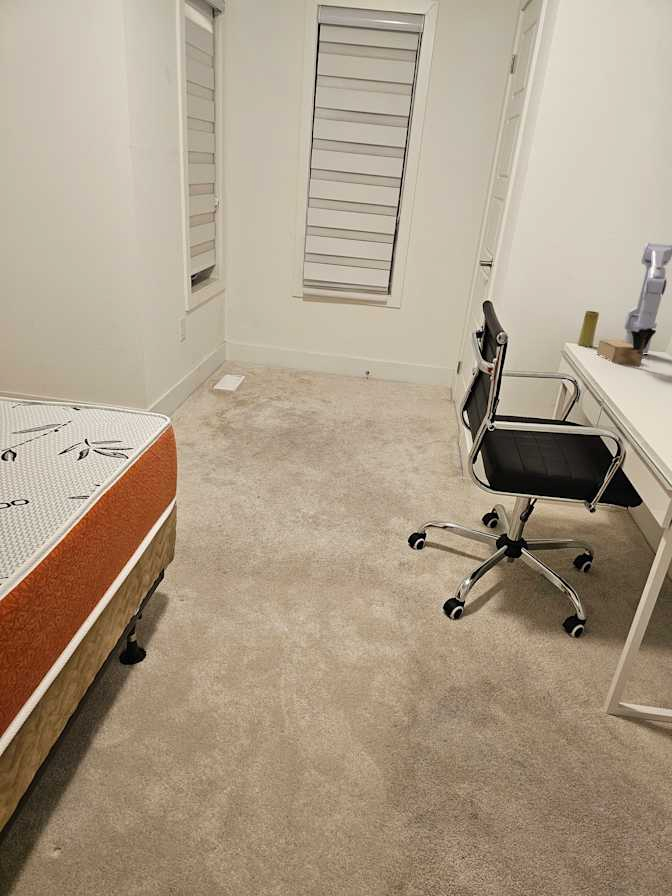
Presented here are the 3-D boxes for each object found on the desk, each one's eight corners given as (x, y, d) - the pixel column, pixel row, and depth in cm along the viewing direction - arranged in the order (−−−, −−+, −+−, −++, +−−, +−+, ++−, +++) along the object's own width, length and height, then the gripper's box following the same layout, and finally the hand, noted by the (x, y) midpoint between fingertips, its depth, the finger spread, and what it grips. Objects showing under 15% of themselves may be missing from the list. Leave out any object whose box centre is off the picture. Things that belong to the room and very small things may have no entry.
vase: (595, 347, 260) (603, 313, 254) (583, 347, 258) (591, 313, 253) (586, 343, 265) (593, 310, 260) (574, 343, 264) (581, 310, 258)
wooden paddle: (639, 367, 230) (646, 339, 226) (637, 368, 229) (645, 340, 224) (613, 361, 236) (619, 334, 232) (611, 362, 235) (617, 334, 231)
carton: (618, 355, 248) (622, 340, 246) (635, 362, 238) (638, 347, 236) (596, 354, 247) (599, 340, 244) (611, 361, 237) (615, 346, 234)
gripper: (647, 308, 228) (637, 344, 234) (628, 311, 220) (619, 348, 225) (665, 312, 223) (656, 348, 229) (647, 315, 215) (637, 353, 220)
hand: (639, 348), depth 227 cm, fingers open, 4 cm apart
